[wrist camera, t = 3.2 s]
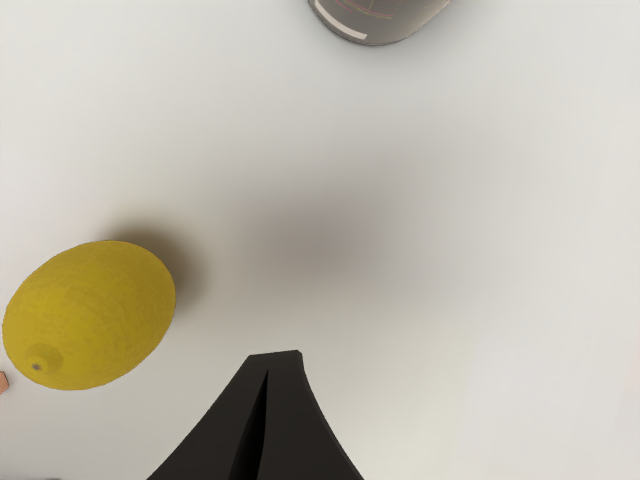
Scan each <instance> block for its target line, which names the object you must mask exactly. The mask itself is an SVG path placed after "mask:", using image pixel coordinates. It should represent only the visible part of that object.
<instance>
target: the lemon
mask: <svg viewBox="0 0 640 480" xmlns="http://www.w3.org/2000/svg"><path fill="white" fill-rule="evenodd" d="M175 305H176V294H175V285H174V282H173V279H172V276H171V274H170V272H169V271H168V269H167V268H166V266H165V265H164V263H163V262H162V261H161V260H160V259H159V258H158V257H156V256H155V255H154V254H153V253H151V252H150V251H148V250H146V249H145V248H143V247H141V246H138V245H135V244H132V243H129V242H123V241H113V240H105V241H97V242H90V243H85V244H82V245H78V246H76V247H74V248H71V249H69V250H66V251H64V252H62V253H60V254H57V255H56V256H54V257H52V258H51V259H50V260H48V261H47V262H46V263H44V264H43V265H42V266H41V267H39V268H38V269H37V270H36V271H34V272H33V273H32V274H31V275H30V276H29V277H28V278H27V279H26V280H25V281H24V282H23V283H22V284H21V286H20V287H19V288H18V290H17V291H16V293H15V294H14V296H13V297H12V299H11V300H10V302H9V304H8V306H7V309H6V312H5V316H4V320H3V324H2V333H3V344H4V347H5V350H6V352H7V355H8V357H9V358H10V360H11V361H12V363H13V364H14V366H15V367H16V368H17V369H18V370H19V371H20V372H21V373H22V374H23V375H24V376H25V377H27V378H29V379H30V380H32V381H34V382H35V383H38V384H41V385H43V386H46V387H49V388H53V389H59V390H85V389H90V388H94V387H97V386H101V385H105V384H107V383H109V382H111V381H113V380H115V379H117V378H119V377H121V376H123V375H124V374H126V373H128V372H129V371H131V370H132V369H133V368H135V367H136V366H137V365H138V364H139V363H141V362H142V361H143V360H144V359H145V358H146V357H147V356H148V355H149V354H150V353H151V352H152V351H153V350H154V349H155V348H156V347H157V346H158V344H159V343H160V341H161V340H162V338H163V336H164V335H165V333H166V331H167V330H168V328H169V326H170V324H171V321H172V318H173V313H174V309H175Z"/></svg>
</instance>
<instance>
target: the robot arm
mask: <svg viewBox="0 0 640 480" xmlns="http://www.w3.org/2000/svg"><path fill="white" fill-rule="evenodd" d="M146 480H364V479H363V477H362V476H361V474H360V473H359V472H358V470H357V469H356V467H355V466H354V465H353V463H352V462H351V460H350V459H349V457H348V456H347V454H346V453H345V451H344V450H343V448H342V446H341V445H340V443H339V442H338V440H337V438H336V437H335V435H334V433H333V431H332V430H331V428H330V426H329V424H328V423H327V421H326V419H325V417H324V415H323V413H322V411H321V409H320V407H319V405H318V403H317V401H316V399H315V397H314V394H313V392H312V390H311V388H310V385H309V383H308V380H307V377H306V374H305V371H304V365H303V357H302V353H301V352H299V351H298V350H291V351H283V352H274V353H265V354H256V355H249V356H248V358H247V359H246V360H245V361H244V363H243V364H242V366H241V367H240V368H239V370H238V371H237V373H236V374H235V375H234V377H233V378H232V380H231V381H230V382H229V384H228V385H227V386H226V388H225V389H224V390H223V392H222V393H221V394H220V396H219V397H218V398H217V400H216V401H215V402H214V403H213V405H212V406H211V407H210V409H209V410H208V411H207V412H206V414H205V415H204V416H203V417H202V419H201V420H200V421H199V422H198V423H197V425H196V426H195V427H194V428H193V429H192V430H191V432H190V433H189V434H188V435H187V436H186V438H185V439H184V440H183V441H182V442H181V443H180V445H179V446H178V447H177V448H176V449H175V450H174V451H173V452H172V454H171V455H170V456H169V457H168V458H167V459H166V460H165V461H164V462H163V463H162V464H161V465H160V466H159V467H158V469H157V470H156V471H155V472H154V473H153V474H152V475H151V476H150V477H149V478H148V479H146Z"/></svg>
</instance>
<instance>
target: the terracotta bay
mask: <svg viewBox="0 0 640 480" xmlns="http://www.w3.org/2000/svg"><path fill="white" fill-rule="evenodd" d="M8 387H9V385H8V383H7V380H6V378H5V375H4V373H3V372H0V394H1V393H2V392H3V391H5V390H6V389H7V388H8Z"/></svg>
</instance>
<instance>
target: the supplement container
mask: <svg viewBox="0 0 640 480" xmlns="http://www.w3.org/2000/svg"><path fill="white" fill-rule="evenodd" d="M308 1H309V3H310V4H311V6H312V8H313V10H314V11H315V12H316V14H317V15H318V17H319V18H320V19H321V20H322V21H323V22H324V23H325V24H326V25H327V26H328V27H329V28H330V29H331V30H333V31H334V32H335V33H337V34H339V35H340V36H342V37H344V38H346V39H348V40H350V41H353V42H356V43H360V44H365V45H383V44H389V43H393V42H397V41H399V40H402V39H404V38H406V37H408V36H410V35H411V34H413V33H414V32H416V31H417V30H419V29H420V28H421V27H422V26H423V25H425V24H426V23H427V22H428V21H429V20H430V19H431V18H433V17H434V16H435V15H436V14H437V13H438V12H439V11H440V10H442V9H443V8H444V7H445V6H446V5H447V4H448V3H449V2H451V1H452V0H308Z"/></svg>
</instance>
